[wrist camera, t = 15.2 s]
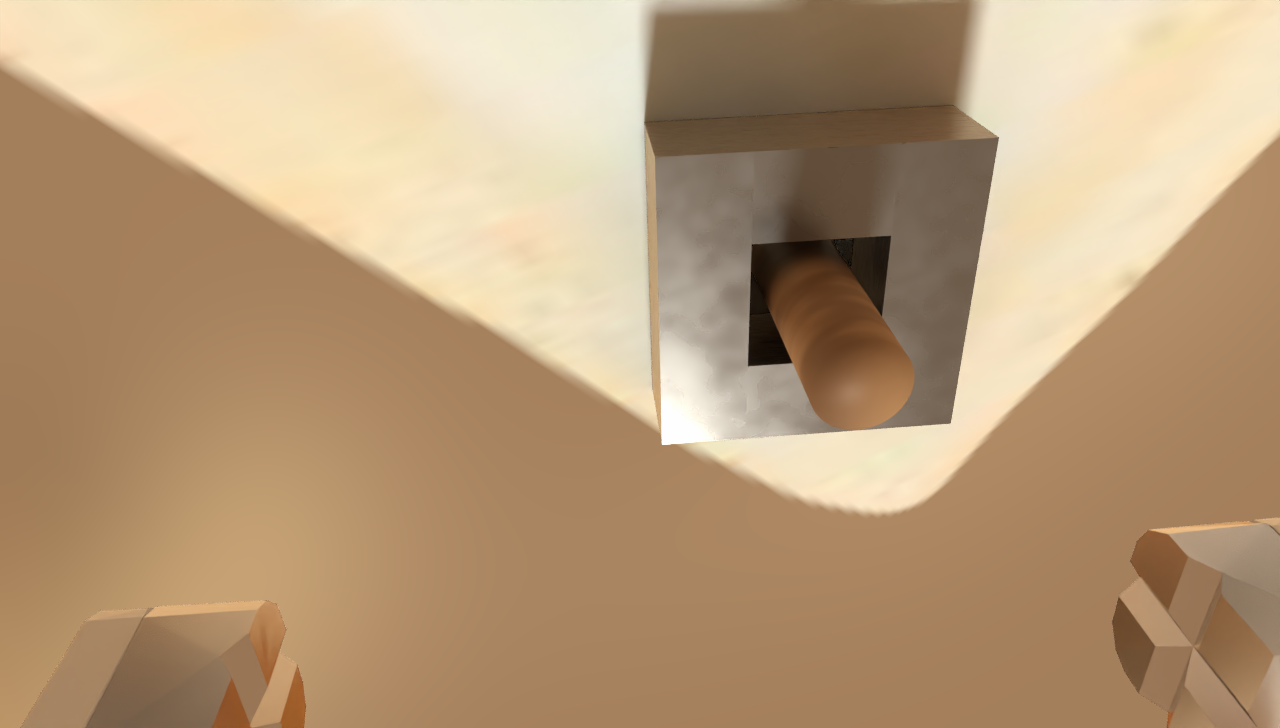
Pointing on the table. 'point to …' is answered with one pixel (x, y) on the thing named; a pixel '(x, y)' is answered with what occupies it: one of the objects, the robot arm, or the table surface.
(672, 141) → the socket block
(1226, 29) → the table surface
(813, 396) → the walnut peg
